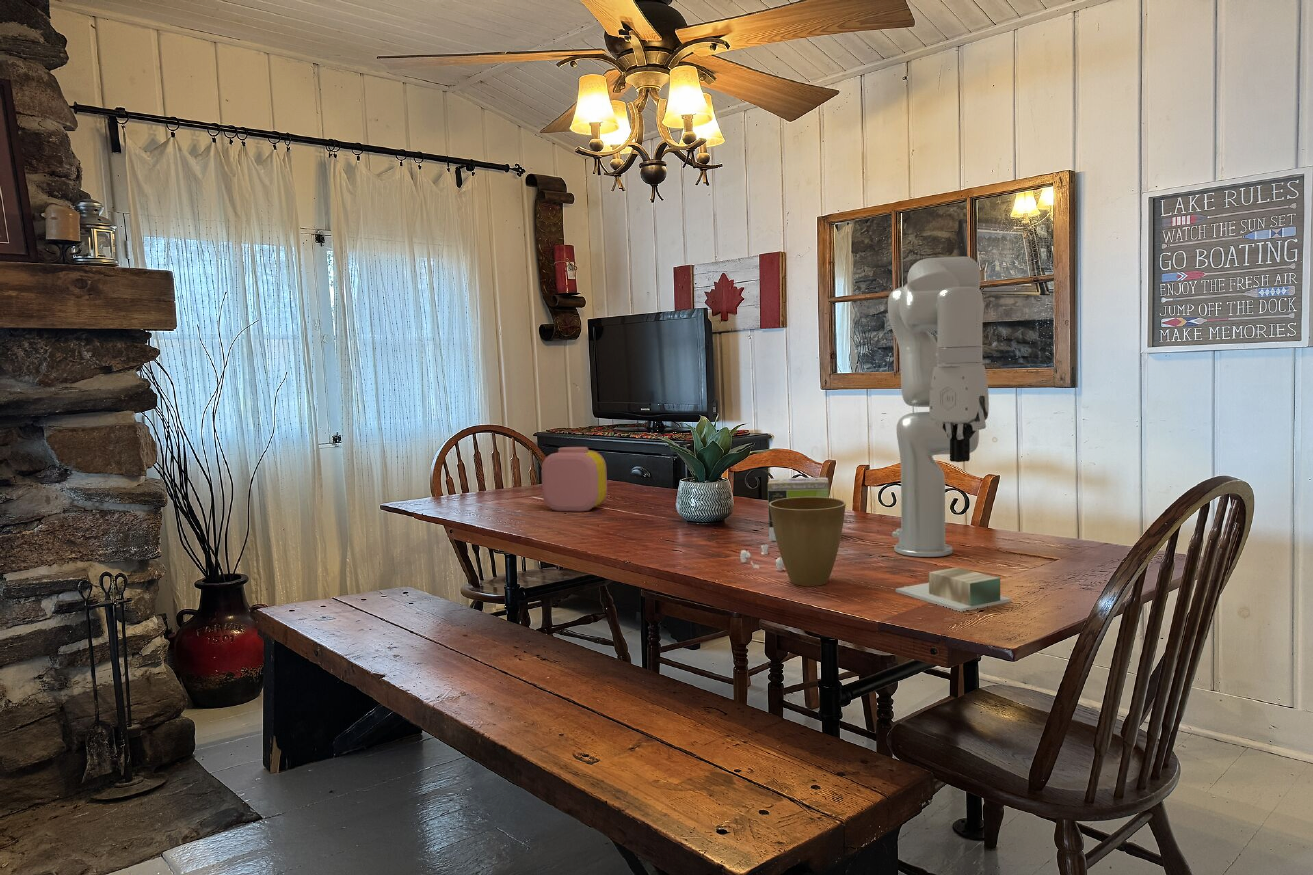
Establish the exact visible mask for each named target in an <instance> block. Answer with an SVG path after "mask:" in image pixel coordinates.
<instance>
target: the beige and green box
mask: <svg viewBox="0 0 1313 875" xmlns="http://www.w3.org/2000/svg"><path fill="white" fill-rule="evenodd" d="M928 583H929V594H932V595H935V596H938V597H942V598H945V599H948V600H951V601H955V602H958V603H961V604H965V605H968V606H976V605H981V604H986V603H991V602H996V601H1000V596H1001V577H997V576H992V575H989V574H984V573H981V572H977V571H974V570H968V569H966V568H965V569H964V568H961V567H957V566H956V567H951V568H946V569H940V570H933V571H929V572H928Z"/></svg>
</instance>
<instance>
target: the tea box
mask: <svg viewBox="0 0 1313 875" xmlns="http://www.w3.org/2000/svg"><path fill="white" fill-rule="evenodd" d="M793 497H828V498H830V482H829V477H827V476H826V477H825V476H823V477H787V478H786V477H785V478H769V479H768V482H767V506H768V538H769V542H771V541H773V542H774V541H775V542H777V541H776V537H775V533H774V529H773V524H772V518H771V513H770V507H769V503H770V502H772V501H775V500H779V499H784V498H793Z"/></svg>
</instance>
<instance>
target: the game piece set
mask: <svg viewBox="0 0 1313 875" xmlns="http://www.w3.org/2000/svg"><path fill="white" fill-rule="evenodd" d="M760 548H761V553H760V554H761V555H769V553H768V549H769V545H768V544H761V545H760ZM739 558H740V562H741V563H742V564H745V563H746V561H747V559H750V558H751V553H749V550H747V551H746V550H745V549H743V550H741V551H740V557H739ZM775 563H776V564H775V566H776V567H777V571H779V572H780V571H781V572H782V571H783V568H784V567H785V566H784V563H783V561H782V558H781V556H780V557H778V558H776V559H775ZM750 564H751V565H752V566H753V567H752V569H760V568H761V567H760V566H759V565H756V564H755V565H754V563H753V561H752V560H751V561H750Z"/></svg>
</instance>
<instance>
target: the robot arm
mask: <svg viewBox="0 0 1313 875" xmlns="http://www.w3.org/2000/svg"><path fill="white" fill-rule="evenodd" d="M981 279H982V276H981V269H980V266H979V264H978V263H977V261H976V260H975V259H973V257H969V256H947V257H942V256H941V257H927V258H924V259H921V260H917V262H915V263H914V264H913V265H911V267H910V268H909V271H908V274H907V283H905V285H904V286H901V287H898V288H896V289H894V290H892V291H891V292H890V294H889V295H888V299H887V314H888V319H889V320H888V321H889V324H890V328H891V330H892V333H893V334H894V337H895V340H896V342H897V346H898V351H899V365H900V367H899V369H900V386H901V388H900V389H901V397H902V399H903V401H904V403H905V405H908V406H909V407H916V408H929V411H916V412H910V413H907V414H905V415H902V416H901V418H899V419H898V421H897V424H896V437H897V438H896V439H897V445H898V452H899V460H900V490H901V491H900V499H901V500H900V501H901V503H900V512H901V513H900V514H901V515H900V519H901V520H900V521H901V522H900V523H901V524H900V527H901V528H897V529H896V530H895V531H894V530H893V532H892V533H891V536H892V537H893V538H897V539H898V542H897V543H896V544H895V545H894V547H893V548H894V552H896V553H898V554H900V555H903V556H904V555H905V556H909V557H917V558H920V557H921V558H924V557H925V558H935V557H936V558H938V557H944V556H948V555H951V554H952V553H953V547H952V545H949V544H947V543H946V475H945V472H944V470H943V468H942V467H941V465H940V464H939V463H938V462H937V461H936V460H935V459H934V456H939V455H949V461H950V462H953V463H954V462H955V463H964V462H969V461H970V458H971V453H973V452H974V451H976V450H977V448H978V447H979V446H978V445H979V441H980V430H984V429H986V428H987V425H986V420H988V419H989V418H988V417H989V410H990V407H989V406H990V401H989V400H990V398H989V386H988V385H989V384H988V378H987V377H988V376H987V372H986V367H985V365H983V318H984V312H985V311H984V310H985V308H984V307H985V306H984V304H985V303H984V300H983V294H982V291H981V290H980V288H981V282H982V280H981ZM930 332H937V339H935V337H934V336H933V335H932V334H931V333H930Z"/></svg>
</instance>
